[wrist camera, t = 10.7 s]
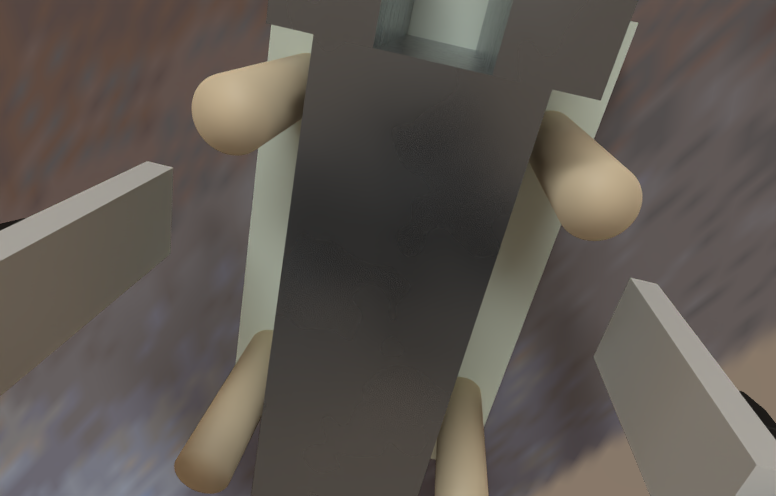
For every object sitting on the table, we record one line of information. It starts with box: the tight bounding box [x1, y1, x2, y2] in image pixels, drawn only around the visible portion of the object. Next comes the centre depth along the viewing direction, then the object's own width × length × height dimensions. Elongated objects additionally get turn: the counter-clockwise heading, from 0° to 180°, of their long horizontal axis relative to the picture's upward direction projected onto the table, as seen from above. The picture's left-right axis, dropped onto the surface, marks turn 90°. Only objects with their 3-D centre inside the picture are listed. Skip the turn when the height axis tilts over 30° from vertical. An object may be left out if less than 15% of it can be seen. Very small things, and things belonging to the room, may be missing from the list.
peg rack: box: [174, 0, 642, 496], centre depth 16 cm, size 17×10×8 cm, turn 168°
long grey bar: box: [251, 0, 638, 496], centre depth 14 cm, size 17×6×7 cm, turn 168°
